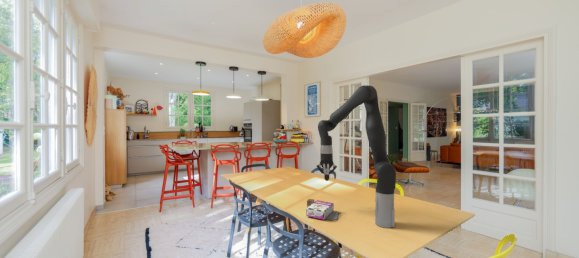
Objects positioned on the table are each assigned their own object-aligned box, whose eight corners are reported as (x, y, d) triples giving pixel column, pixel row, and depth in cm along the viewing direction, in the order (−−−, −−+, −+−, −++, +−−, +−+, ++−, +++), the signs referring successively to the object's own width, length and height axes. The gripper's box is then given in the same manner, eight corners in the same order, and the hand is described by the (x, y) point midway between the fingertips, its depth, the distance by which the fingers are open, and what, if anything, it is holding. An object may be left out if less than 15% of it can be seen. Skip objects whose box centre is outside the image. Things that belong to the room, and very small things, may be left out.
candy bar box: (317, 207, 150) (305, 216, 136) (317, 200, 150) (305, 207, 136) (334, 211, 145) (323, 220, 131) (334, 203, 145) (324, 211, 131)
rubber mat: (338, 212, 144) (338, 211, 144) (336, 220, 132) (336, 219, 132) (312, 209, 149) (312, 208, 149) (308, 216, 137) (308, 215, 137)
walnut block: (314, 205, 157) (314, 199, 157) (312, 207, 153) (312, 201, 153) (308, 204, 158) (308, 198, 158) (306, 206, 154) (306, 200, 154)
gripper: (314, 152, 146) (315, 181, 146) (336, 153, 141) (336, 182, 141) (317, 151, 153) (317, 178, 153) (338, 152, 148) (338, 179, 148)
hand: (327, 180), depth 147 cm, fingers closed
